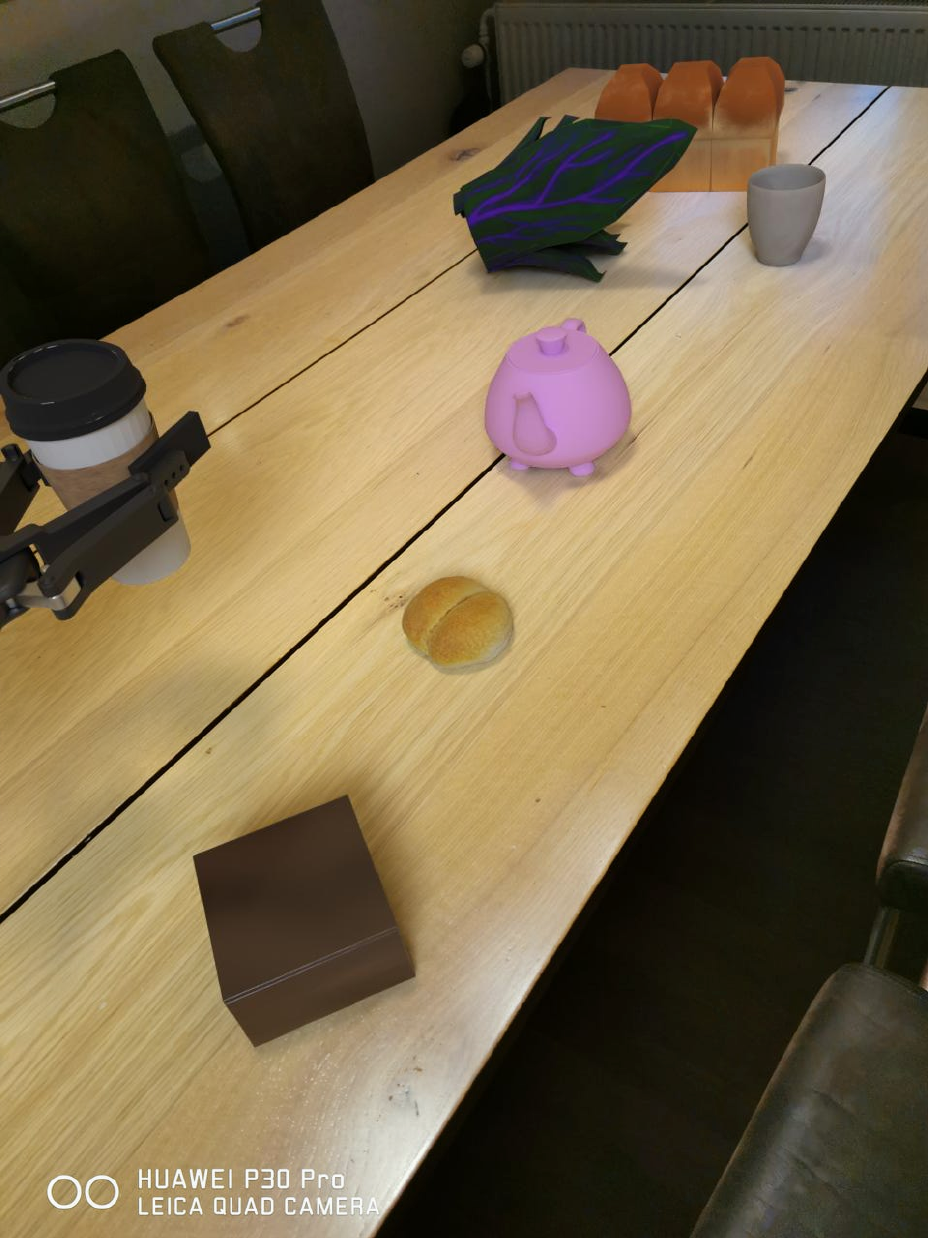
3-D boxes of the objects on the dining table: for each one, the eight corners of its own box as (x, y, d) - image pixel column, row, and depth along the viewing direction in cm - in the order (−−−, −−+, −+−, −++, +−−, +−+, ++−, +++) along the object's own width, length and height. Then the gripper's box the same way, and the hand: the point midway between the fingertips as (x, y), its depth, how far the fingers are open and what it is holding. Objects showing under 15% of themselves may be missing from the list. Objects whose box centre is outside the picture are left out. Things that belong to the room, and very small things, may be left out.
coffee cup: (143, 512, 71) (58, 324, 61) (233, 533, 67) (159, 337, 57) (64, 584, 66) (-42, 391, 56) (157, 610, 62) (62, 410, 52)
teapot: (602, 522, 85) (597, 400, 77) (455, 505, 90) (435, 389, 82) (650, 403, 98) (650, 288, 90) (520, 394, 103) (508, 284, 95)
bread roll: (462, 688, 73) (455, 652, 70) (390, 635, 78) (380, 600, 76) (538, 630, 76) (533, 594, 74) (464, 583, 82) (457, 547, 79)
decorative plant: (510, 314, 137) (718, 237, 128) (474, 328, 114) (725, 235, 104) (462, 166, 132) (676, 74, 122) (413, 148, 108) (674, 33, 99)
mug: (817, 271, 115) (827, 188, 108) (741, 273, 117) (746, 192, 110) (815, 230, 123) (824, 151, 116) (744, 233, 125) (749, 155, 118)
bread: (595, 193, 142) (591, 83, 132) (614, 162, 150) (611, 57, 140) (769, 191, 134) (779, 74, 124) (779, 158, 142) (789, 47, 132)
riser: (222, 906, 62) (192, 855, 58) (366, 847, 64) (347, 793, 60) (254, 1048, 55) (222, 1001, 51) (415, 976, 57) (397, 926, 53)
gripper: (-195, 667, 56) (60, 451, 71) (65, 747, 48) (292, 487, 63) (-280, 570, 51) (14, 360, 66) (-4, 643, 43) (260, 386, 58)
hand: (150, 422), depth 64 cm, fingers closed on coffee cup, 8 cm apart
